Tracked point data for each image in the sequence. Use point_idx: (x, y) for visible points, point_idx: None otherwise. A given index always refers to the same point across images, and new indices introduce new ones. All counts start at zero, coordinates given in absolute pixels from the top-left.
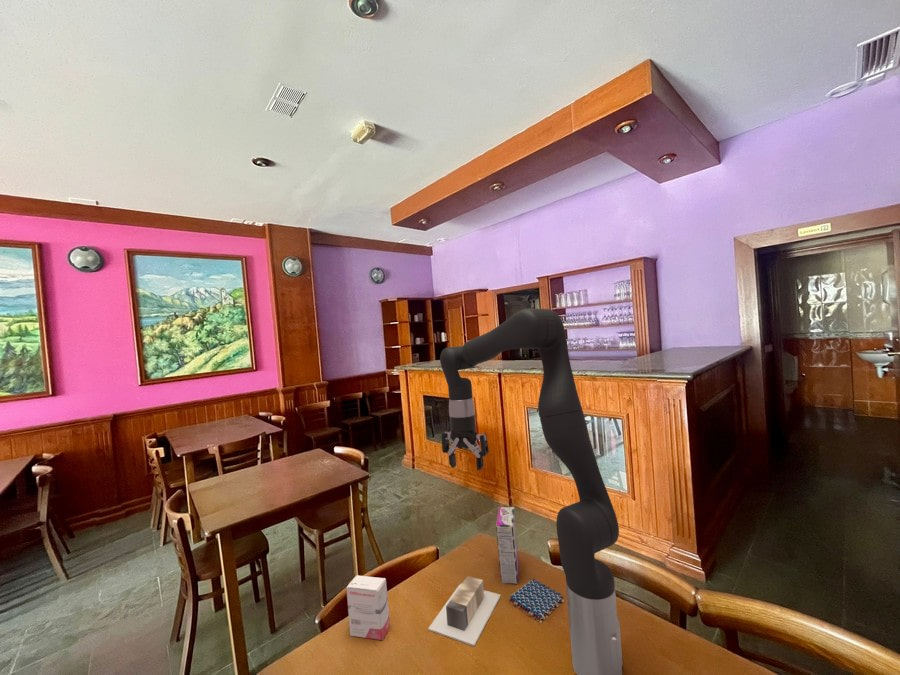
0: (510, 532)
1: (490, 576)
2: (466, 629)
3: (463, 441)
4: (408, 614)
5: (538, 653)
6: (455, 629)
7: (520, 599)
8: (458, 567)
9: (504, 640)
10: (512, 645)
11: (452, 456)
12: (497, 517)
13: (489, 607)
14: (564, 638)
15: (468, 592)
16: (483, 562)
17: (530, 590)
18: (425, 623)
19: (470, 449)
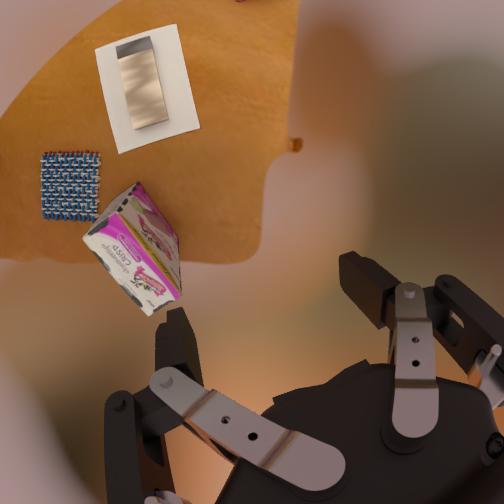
0: (91, 227)
1: (167, 183)
2: None
3: (343, 438)
4: (229, 28)
5: (25, 109)
6: None
7: (79, 162)
8: (237, 166)
9: (66, 89)
10: (54, 91)
11: (378, 292)
12: (144, 249)
13: (116, 117)
14: (13, 155)
15: (135, 84)
16: (205, 208)
17: (82, 194)
18: (190, 30)
19: (229, 401)
